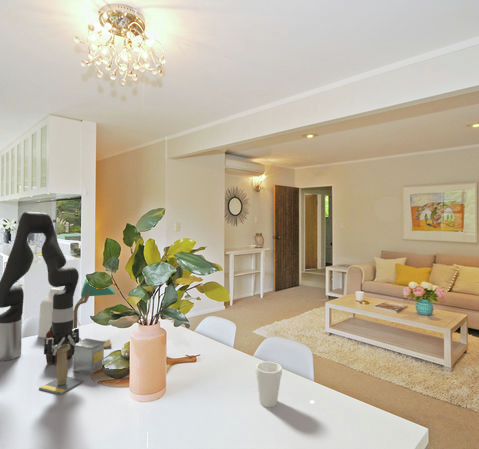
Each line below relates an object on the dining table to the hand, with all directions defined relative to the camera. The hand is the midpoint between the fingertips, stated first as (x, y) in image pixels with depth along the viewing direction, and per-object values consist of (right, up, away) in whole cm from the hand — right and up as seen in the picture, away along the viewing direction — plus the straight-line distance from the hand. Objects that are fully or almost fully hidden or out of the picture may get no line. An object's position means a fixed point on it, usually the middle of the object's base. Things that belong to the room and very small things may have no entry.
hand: (62, 359), depth 127 cm
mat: (0, -10, 0) cm, 10 cm away
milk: (-35, -9, +56) cm, 66 cm away
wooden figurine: (-13, -10, +23) cm, 28 cm away
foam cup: (+80, -12, -9) cm, 82 cm away
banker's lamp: (-6, -10, +38) cm, 40 cm away
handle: (0, -10, 0) cm, 10 cm away
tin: (+4, -10, +14) cm, 18 cm away
